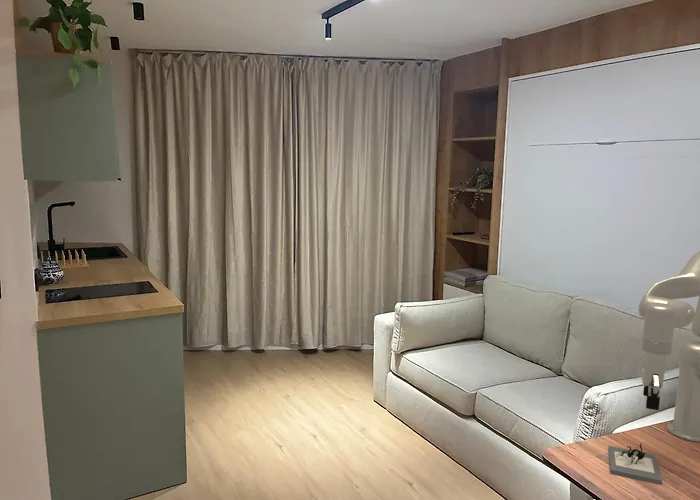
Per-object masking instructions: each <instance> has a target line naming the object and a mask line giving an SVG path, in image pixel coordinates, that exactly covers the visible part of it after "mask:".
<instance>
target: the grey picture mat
mask: <svg viewBox="0 0 700 500" xmlns="http://www.w3.org/2000/svg"><path fill="white" fill-rule="evenodd" d="M629 450H630V449H629V448H623V447H622V448H621V447H617V446H613V445H608V448H607V451H608V461H609V462H608V463H609V473H610V474H611V475H615V476H620V477H624V478H630V479H632V480H633V479H635V480H639V481H641V482H642V481H643V482H648V483H653V484H656V485H661V486H662V483H663V479H662V475H661V471H660V467H659V464H658V463H659V462H658V459H657V456H656V454H654V453H653V454H652V453H648V452H646V453H645V455H644V458H643V459H641V460H639V461H637V460H638V457H637V456H636V455H637V454H638V451H635V452H634V456H636V457H635V459H633V464H631V462H632V457H630V458H629V457H628V455H627V453H628V451H629ZM632 450H633V449H631V451H630V452H629V453H631V452H632ZM623 451H626V453H624V454H623V456H620V454H622V452H623ZM618 453H620V454H618ZM629 453H628V454H629ZM617 454H618V455H619V456H618V455H617ZM616 455H617V456H618V457H617V456H616ZM624 456H625V457H624ZM632 456H633V455H632ZM634 456H633V458H634ZM636 461H637V464H634V463H636ZM628 462H629V463H628ZM629 464H631V465H629ZM626 465H628V466H626Z"/></svg>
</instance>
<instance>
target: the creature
mask: <svg viewBox="0 0 700 500" xmlns="http://www.w3.org/2000/svg"><path fill="white" fill-rule="evenodd" d="M626 447H627V448H628V450H629V451H628V453H629V452H630V451H631V450H632V452H631V453H629V454H628V453H627V455H628V457H629V458H630V457H632V462H631V464H633V459H635V457H636V456H637V457H638V460H637V461H639V460H641V459H643V458H644V455H645V453H647V452H646V451H645V452H643V448H642V442H641V443H640V444H639V448H640V450H639V449H637V448H634V449H632V447H631V446H628V445H626ZM635 451H638V454H637V455H636V456H634V452H635ZM624 453H626V451H623V452H622V454H620V453H618V454H620V456H623V454H624ZM618 454H617V455H618ZM617 455H616V456H617ZM632 455H633V456H634V458H633V456H632ZM618 456H619V455H618ZM618 456H617V457H618ZM624 457H625V456H624ZM637 461H636V463H634V464H637ZM628 463H629V462H628ZM631 464H629V465H631ZM626 466H628V465H626Z"/></svg>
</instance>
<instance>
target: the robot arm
mask: <svg viewBox="0 0 700 500" xmlns="http://www.w3.org/2000/svg"><path fill="white" fill-rule="evenodd" d="M695 297H698V300H697V304H696V308H695V309H694V307H693V306H692V305H691V304H690V303H688V302H685V301H682V300H678V299H688V298H689V299H690V298H695ZM638 314H639V316H640V317H641V318H642V319H643V321H644V322H643V323H644V324H643V331H642V339H641V340H642V341H641V350H642V351H643V352H644V354H643V359H642V360H643V361H642V367H641V375H640V377H641V383H642V385H643V393H642V395H643V397H646V403H645V408H646V409H647V410H655V411H659V409H660V404H661V403H660V402H661V401H660V400H661V389H662V388H663V386H664V379H665V371H666V363H667V362H666V361H667V356H670V355H671V354H672V349H673V348H672V347H673V337H674V329H675V328H677V329H678V328H685V327H688V326H689V325H691V333H692V334H693V335H695V336H696V337H698V338H700V251H697V252H695V253H694V254H693V255H692V256H691V257H690V258H689V260H688V261H687V263H686V264H685V266H684V267H683V268H682V269H681V270H680V272H679V274H678V275H675V276H672V277H669V278H666V279H663V280H661V281H658V282H656V283H655V284H653V285H652V286H650V287H649V289H648V290H647V291H646V292H645V294H644V296H643V297H642V298H641V300H640V302H639V305H638ZM678 365H679V366H678V367H679V369H678V371H679V372H678V380H677V381H678V383H677V390H676V397H675V407H674V412H673V421H672V422H669V423H668V424H666V425H667V427H666V428H667V430H668V432H669V433H670V434H672V435H674V436H675V437H677V438H681V439H683V440H687V441H691V442H696V443H697V442H698V443H699V442H700V341H699V340H686V341H683V342H682V343H681V344H680V346H679V348H678Z"/></svg>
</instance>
